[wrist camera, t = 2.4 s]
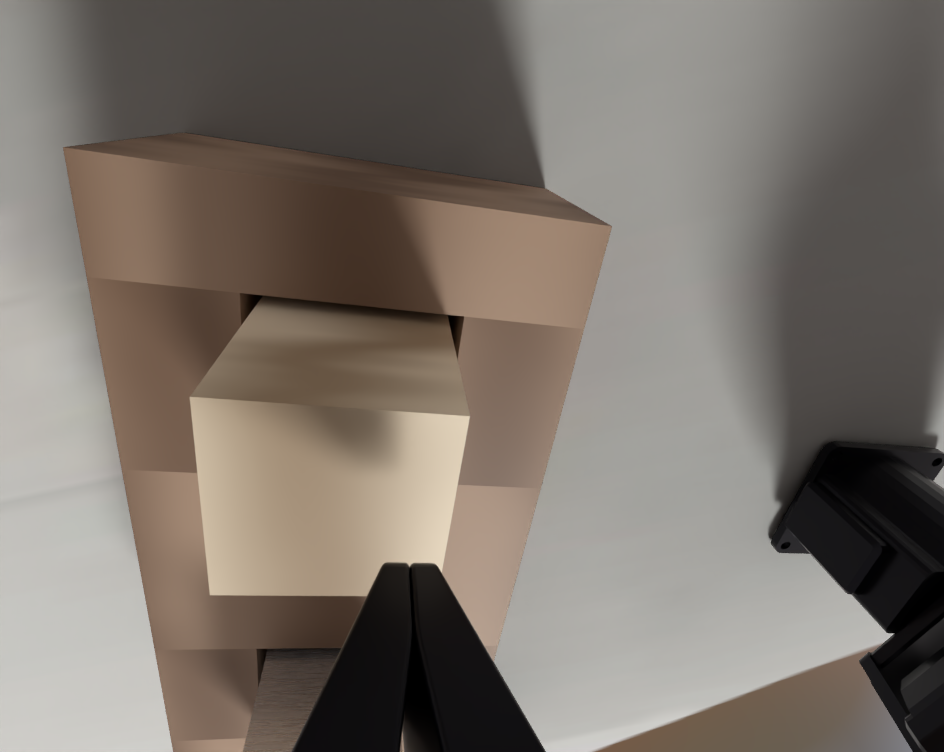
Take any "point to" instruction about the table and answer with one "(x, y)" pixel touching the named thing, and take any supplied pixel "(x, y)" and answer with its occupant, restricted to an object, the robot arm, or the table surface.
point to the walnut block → (327, 280)
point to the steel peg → (287, 696)
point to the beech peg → (327, 447)
